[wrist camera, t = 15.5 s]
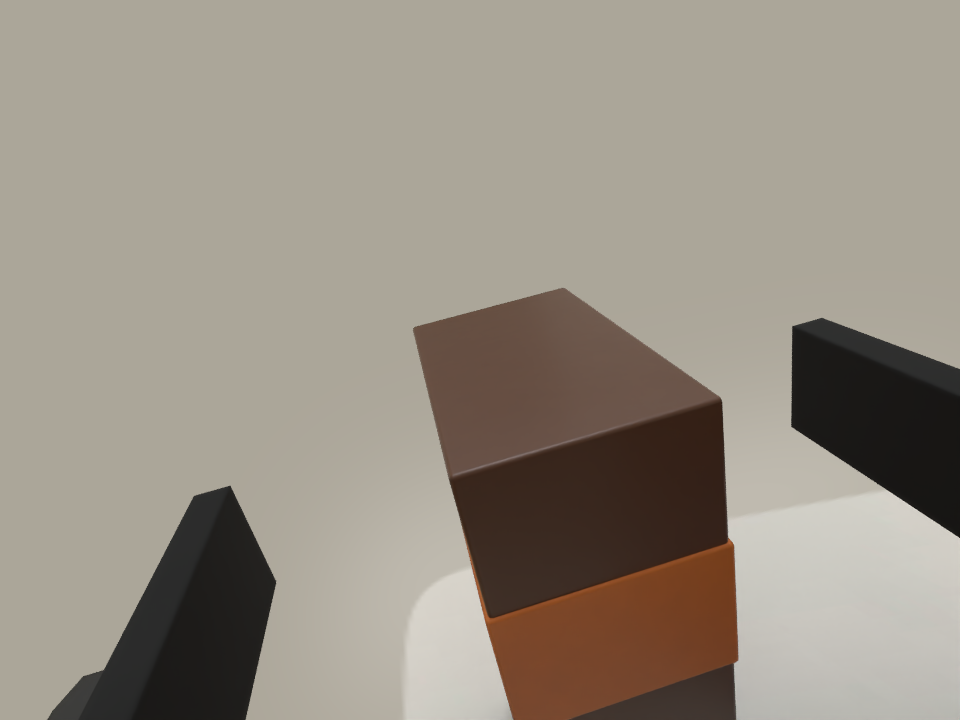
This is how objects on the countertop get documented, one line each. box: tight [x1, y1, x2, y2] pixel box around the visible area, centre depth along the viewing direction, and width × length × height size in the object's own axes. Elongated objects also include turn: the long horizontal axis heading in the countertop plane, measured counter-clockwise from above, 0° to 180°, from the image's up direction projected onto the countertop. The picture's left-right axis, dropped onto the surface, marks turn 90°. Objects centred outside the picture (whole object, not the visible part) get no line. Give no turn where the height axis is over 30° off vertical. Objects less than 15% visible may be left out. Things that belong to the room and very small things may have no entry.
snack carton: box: [413, 288, 738, 720], centre depth 12 cm, size 4×6×12 cm, turn 11°
